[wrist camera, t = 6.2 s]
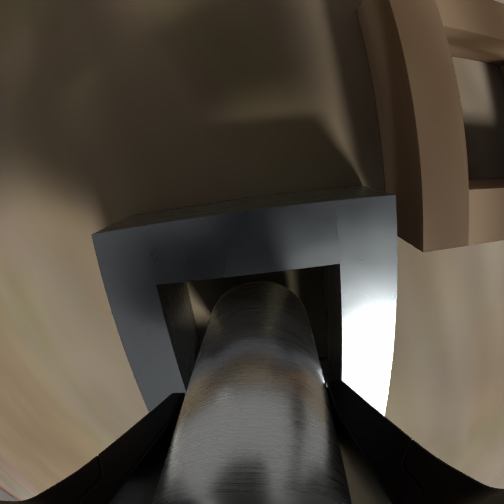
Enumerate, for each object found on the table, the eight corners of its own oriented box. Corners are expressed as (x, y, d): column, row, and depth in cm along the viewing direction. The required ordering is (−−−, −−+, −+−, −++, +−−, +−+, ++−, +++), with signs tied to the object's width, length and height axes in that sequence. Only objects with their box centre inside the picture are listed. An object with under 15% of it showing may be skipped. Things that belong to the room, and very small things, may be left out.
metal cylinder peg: (305, 274, 12) (367, 479, 4) (311, 360, 13) (346, 554, 5) (201, 286, 13) (115, 484, 4) (219, 369, 14) (182, 559, 5)
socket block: (514, 39, 10) (553, 26, 6) (535, 213, 12) (577, 227, 9) (356, 10, 10) (380, -27, 7) (387, 229, 13) (423, 252, 10)
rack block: (363, 185, 13) (395, 194, 9) (364, 381, 15) (382, 426, 12) (129, 216, 13) (91, 234, 10) (178, 399, 16) (163, 444, 13)
